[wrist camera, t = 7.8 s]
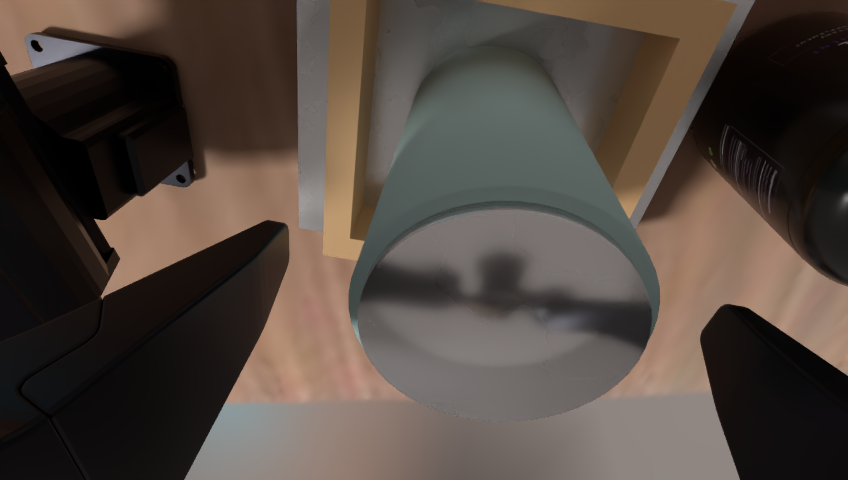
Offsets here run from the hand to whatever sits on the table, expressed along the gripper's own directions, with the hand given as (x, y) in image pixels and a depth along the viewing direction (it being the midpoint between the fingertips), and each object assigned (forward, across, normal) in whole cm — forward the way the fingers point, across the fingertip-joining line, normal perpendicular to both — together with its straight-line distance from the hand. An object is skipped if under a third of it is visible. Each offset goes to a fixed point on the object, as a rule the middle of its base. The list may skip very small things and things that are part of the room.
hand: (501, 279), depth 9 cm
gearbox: (+13, 0, 0) cm, 13 cm away
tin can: (+9, 0, 0) cm, 9 cm away
